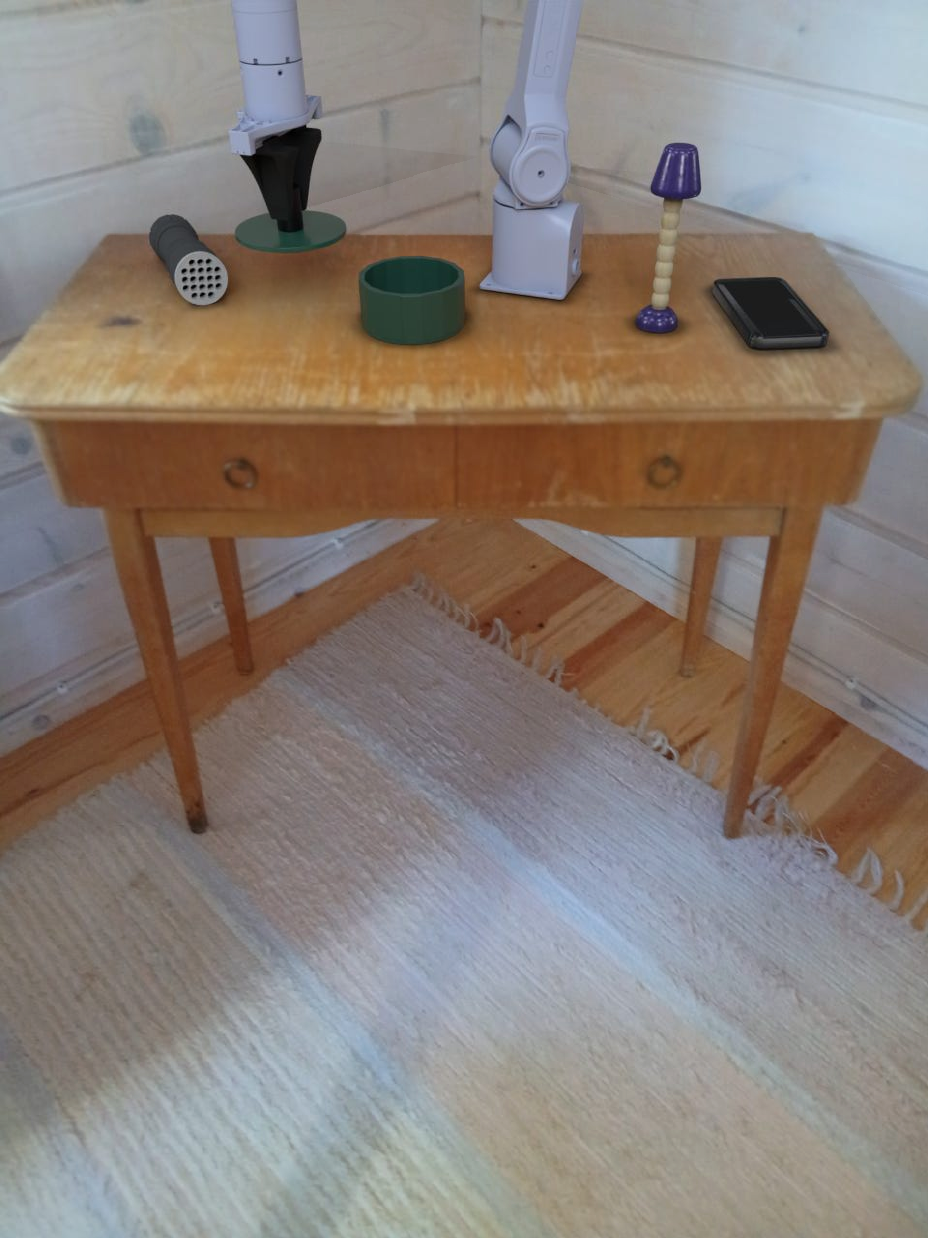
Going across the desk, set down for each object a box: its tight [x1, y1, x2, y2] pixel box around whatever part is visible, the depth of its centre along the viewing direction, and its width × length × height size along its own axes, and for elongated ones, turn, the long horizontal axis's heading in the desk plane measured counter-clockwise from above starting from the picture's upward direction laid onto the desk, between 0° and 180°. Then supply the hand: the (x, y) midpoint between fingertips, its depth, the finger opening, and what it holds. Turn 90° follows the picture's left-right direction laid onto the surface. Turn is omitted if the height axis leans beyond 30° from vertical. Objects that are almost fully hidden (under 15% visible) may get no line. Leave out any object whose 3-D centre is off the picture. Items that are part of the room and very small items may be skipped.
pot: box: [358, 255, 466, 346], centre depth 96 cm, size 10×10×5 cm
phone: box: [711, 276, 830, 350], centre depth 97 cm, size 8×1×15 cm
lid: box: [234, 183, 348, 254], centre depth 95 cm, size 11×11×5 cm
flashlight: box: [148, 213, 229, 306], centre depth 104 cm, size 15×5×5 cm, turn 26°
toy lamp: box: [634, 142, 702, 334], centre depth 91 cm, size 5×5×17 cm
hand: (289, 213), depth 95 cm, fingers closed on lid, 2 cm apart
